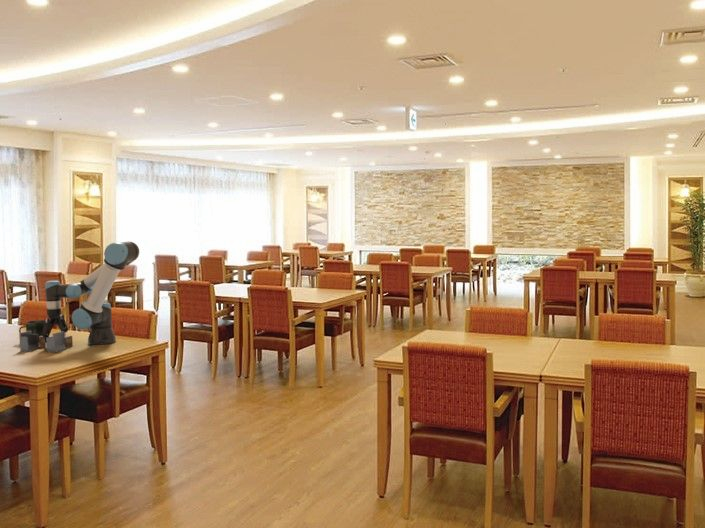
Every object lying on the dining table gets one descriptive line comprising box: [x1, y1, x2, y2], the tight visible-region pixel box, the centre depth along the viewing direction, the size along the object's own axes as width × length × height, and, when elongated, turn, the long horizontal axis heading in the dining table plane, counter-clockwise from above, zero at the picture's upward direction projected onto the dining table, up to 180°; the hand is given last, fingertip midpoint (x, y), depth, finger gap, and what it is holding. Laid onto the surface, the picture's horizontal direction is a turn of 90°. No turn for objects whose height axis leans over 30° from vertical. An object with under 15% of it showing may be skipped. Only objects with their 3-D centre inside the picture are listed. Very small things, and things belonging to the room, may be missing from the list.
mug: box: [18, 319, 44, 341], centre depth 405 cm, size 11×15×12 cm
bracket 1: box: [18, 330, 40, 352], centre depth 382 cm, size 5×9×10 cm, turn 166°
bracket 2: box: [46, 331, 66, 353], centre depth 378 cm, size 5×9×10 cm, turn 166°
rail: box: [39, 334, 73, 349], centre depth 391 cm, size 18×5×6 cm, turn 75°
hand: (55, 345), depth 391 cm, fingers open, 12 cm apart
